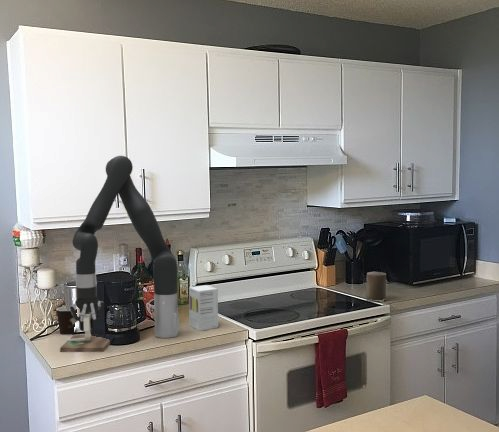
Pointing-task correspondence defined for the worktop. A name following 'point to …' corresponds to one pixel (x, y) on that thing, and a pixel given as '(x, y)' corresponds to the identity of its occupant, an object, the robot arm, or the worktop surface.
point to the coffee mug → (65, 320)
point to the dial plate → (85, 344)
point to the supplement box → (203, 307)
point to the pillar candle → (376, 286)
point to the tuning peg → (85, 329)
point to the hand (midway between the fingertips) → (87, 329)
